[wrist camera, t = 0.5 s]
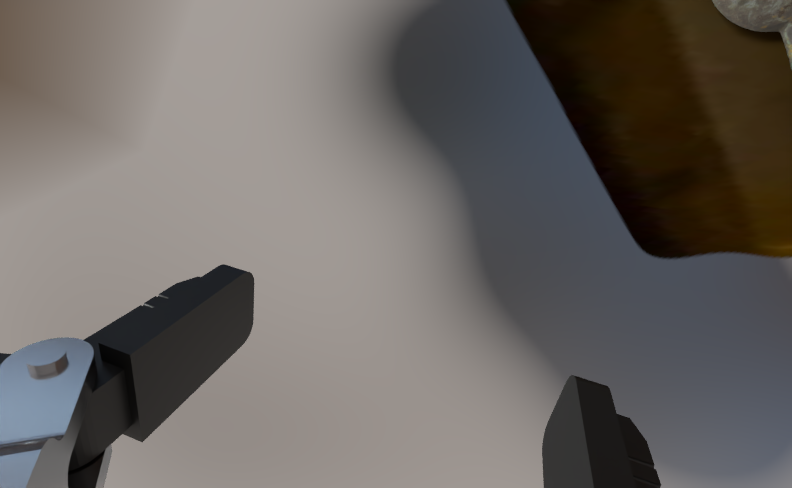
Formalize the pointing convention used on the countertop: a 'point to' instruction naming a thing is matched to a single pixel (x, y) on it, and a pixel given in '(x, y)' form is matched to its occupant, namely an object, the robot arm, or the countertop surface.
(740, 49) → the countertop surface
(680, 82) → the countertop surface
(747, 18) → the soupspoon
